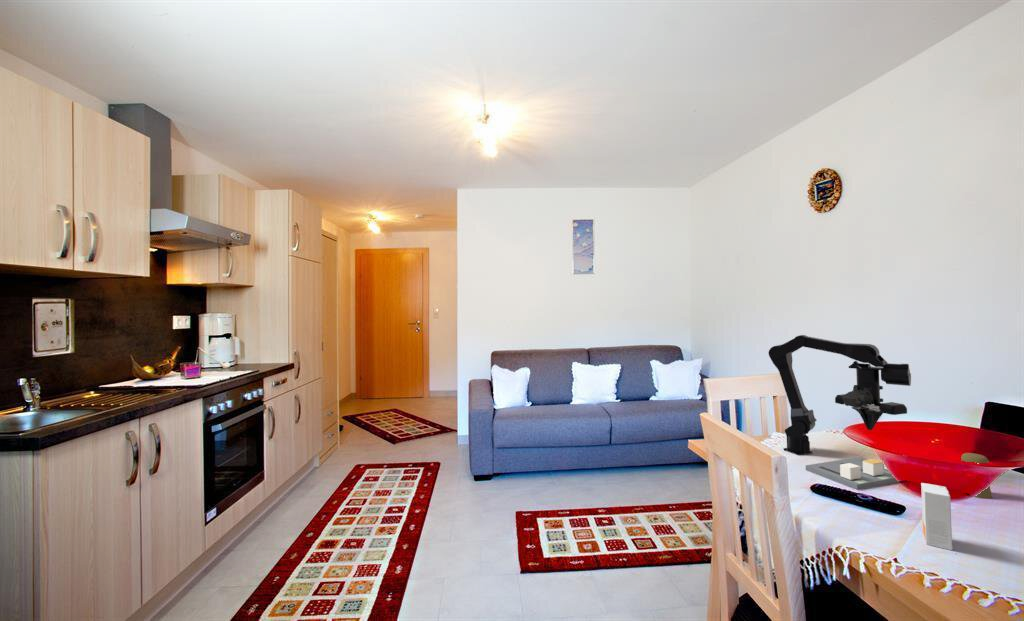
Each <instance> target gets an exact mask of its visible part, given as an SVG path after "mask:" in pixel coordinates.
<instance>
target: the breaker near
mask: <svg viewBox="0 0 1024 621" xmlns="http://www.w3.org/2000/svg"><path fill="white" fill-rule="evenodd" d="M840 476H841V477H844V478H847V479H850V480H853V479H859V478H861V468H860V466H858V465H855V464H852V463H847V464H840Z"/></svg>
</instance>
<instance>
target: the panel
mask: <svg viewBox="0 0 1024 621" xmlns="http://www.w3.org/2000/svg"><path fill="white" fill-rule="evenodd" d="M868 459H869V458H868V457H865V456H864V457H863V456H856V457H850V458H843V459H837V460H831V461H824V462H818V463H813V464H812V463H811V464H806V465H805V471H807V472H810V473H813V474H815V475H818V476H820V477H823V478H825V479H828V480H831V481H833V482H835V483H837V484H841V485H844V486H846V487H849V488H852V489H854V490H857V491H859V490H863V489H864V490H865V489H868V488H869V489H870V488H875V487H881V486H884V485H890V484H896V483H899V482H898V481H897V480H896V479H895V478H894V477H893V476H892V474H891V473H890V472H889V471H888V470H887V469H884V463H883V474H882V475H876V476H872V475H869V474H866V473H863V460H868ZM847 463H852V464H855V465H858V466H860V468H861V478H859V479H853V480H850V479H847V478H844V477H841V476H840V464H847Z"/></svg>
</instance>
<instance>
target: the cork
mask: <svg viewBox="0 0 1024 621" xmlns="http://www.w3.org/2000/svg"><path fill="white" fill-rule="evenodd" d="M960 458H961V462H962V461H965V462H976V463H989V464H990V461H989V459H988V458H987V457H986V456H985V455H982V454H978V453H974V452H973V453H972V452H965V453H963V454H962V455H961V457H960ZM974 498H977V499H983V500H984V499H986V500H987V499H988V500H989V499H992V498H993V495H992V490H991V486H989V487H988V488H987V489H985V490H984V491H982V492H981V493H980V494H978V495H977V496H975V497H974Z"/></svg>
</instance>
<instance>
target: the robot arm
mask: <svg viewBox="0 0 1024 621" xmlns="http://www.w3.org/2000/svg"><path fill="white" fill-rule="evenodd" d="M801 348H808V349H813V350H819V351H824V352H828V353H834V354H838V355H842V356H844V357H847V358H849V359H851V360H854V361H853V362H852V363H851V364H850V365H849V366H848V369H855V370H856V384H854V385H853V388H852V391H848V392H846V393H842V394H836V396H835V397H834V399H835V400H834V403H835V404H838V405H845V406H846V407H851V409H853V410H855V411H856V412H857V413H859V415H860V417H861V419H862V421H863V424H864V425H865V428H866V430H868V431H872V430H873V429H874V428H875V426H876V424H877V422H878V421H879V419H880V418H881V417H882V416H883V414H887V415H890V416H891V415H892V416H893V415H894V416H896V415H897V416H898V415H905V414H908V407H907V406H906V405H905V404H904V403H899V402H898V403H897V402H893V401H889V402H884V398H882V397H881V392H880V390H884V387H883V385H880V380H881V381H882V382H885V384H886V385H895V386H907V387H910V386H912V373H911V369H910V365H909V363H888V362H887V360H886V359H884V357H883V356H881V355H880V349H879V348H878V347H877V346H876V345H874V344H871V343H852V342H851V343H846V342H840V341H836V340H835V341H834V340H830V339H829V340H828V339H823V338H818V337H814V336H813V337H812V336H808V335H806V334H805V335H804V334H800V335H796V336H795V337H794V338H792V339H791V340H788V341H787V342H785V343H783V344H776V345H774V346H771V347H770V349H769V350H768V357H769V359H770V361H771V362H772V364H773V365H774V367H775V368H776V369H777V370H778V372H779V376H780V378H781V382H782V385H783V388H784V391H785V395H786V398H787V400H788V403H789V406H790V423H791V425H790V426H788V427H787V428H785V429H784V433H785V436H786V447H784V448H783V450H784V451H787V452H789V453H791V454H795V455H796V456H797V455H798V456H803V455H808V454H813V451H811V442H810V441H809V439H810V438H809V436H808V435H807V434H809V432H810V431H812V430H813V429H814V428H815V426H816V422H817V419H816V417H815V415H814V410H813V409H808V408H807V407H806V405H805V402H804V400H803V396H802V394H801V391H800V387H799V385H798V381H797V378H796V376H795V371H794V369H793V353H795V352H796V351H798V350H800V349H801Z"/></svg>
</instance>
